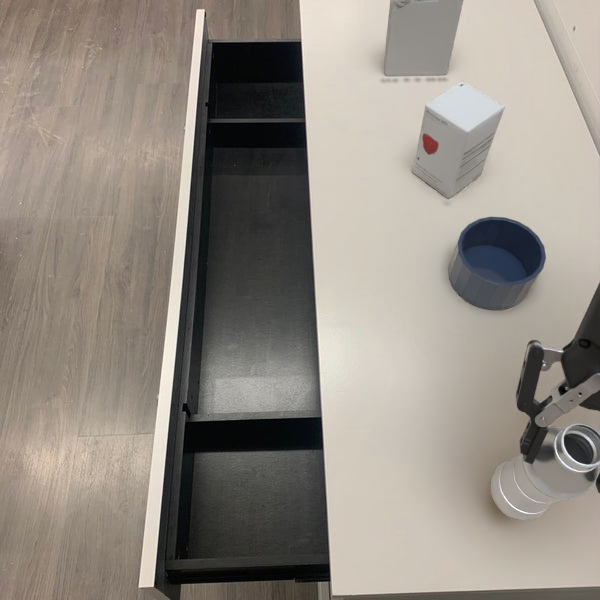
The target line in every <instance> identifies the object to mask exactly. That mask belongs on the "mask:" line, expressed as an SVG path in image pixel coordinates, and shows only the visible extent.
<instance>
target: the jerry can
mask: <svg viewBox="0 0 600 600" xmlns="http://www.w3.org/2000/svg"><path fill="white" fill-rule="evenodd" d="M463 4H464V0H389V9H388V18H387V28H386V38H385V39H386V40H385V47H384V57H383V64H384V74H385V76H387V77H406V76H407V77H414V76H415V77H418V76H421V77H423V76H446V75H447V74H448V72H449V68H450V63H451V59H452V55H453V50H454V45H455V40H456V36H457V32H458V27H459V22H460V18H461V13H462V9H463Z"/></svg>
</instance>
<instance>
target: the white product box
mask: <svg viewBox="0 0 600 600" xmlns="http://www.w3.org/2000/svg"><path fill="white" fill-rule="evenodd" d="M505 109H506V107H505V106H504V105H503V104H501V103H500V102H498V101H496V100H495V99H493V98H491V97H490V96H488V95H487V94H486V93H485V92H484V91H481V90H478V89H476V88H475V87H474V86H472V85H470V84H468V83H466V82H465V81H463V80H460V81H459V82H457V83H456V84H454V85H453V86H452V87H450V88H448V89H447V90H445V91H444V92H443V93H441V94H439V95H438V96H436V97H434V98H432V100H430V101H428V102H427V103H426V104H425V106H424V110H423V117H422V121H421V122H422V123H421V126H420V131H419V136H418V142H417V148H416V152H415V156H414V161H413V162H414V163H413V167H412V174H414V175H416V177H418V178H419V179H421V180H422V181H424V182H425V183H426V184H427V185H429V186H430V187H432V189H434V190H436V191H437V192H438V193H440V194H441V195H442V196H444V197H445V198H446V199H451V198H453V197H454V196H455V195H457V194H458V193H459V192H460V191H462V190H463V189H464V188H466V187H467V186H468V185H469V184H471V183H472V182H473V181H474V180H476V179H477V178H478V177H480V176H481V175H482V173H483V170H484V166H485V164H486V161H487V158H488V156H489V152H490V150H491V147H492V144H493V142H494V139H495V136H496V133H497V131H498V128H499V125H500V121H501V119H502V116H503V113H504V111H505Z"/></svg>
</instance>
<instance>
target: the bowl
mask: <svg viewBox="0 0 600 600" xmlns="http://www.w3.org/2000/svg"><path fill="white" fill-rule="evenodd" d="M546 260H547V255H546V249H545V245H544V243H543V242H542V240H541V238H540V236H539V235H538V234H537V233H536V232H535V231H533V230H532V229H531V227H529V226H527V225H525V224H524V223H522V222H521V221H518V220H515V219H511V218H509V217H503V216H487V217H481V218H478V219H476V220H475V221H473V222H470V223H468V224H467V225H466V226H465V227H464V229H463V230H462V231H461V232H460V235H459V237H458V240H457V243H456V245H455V249H454V251H453V254H452V257H451V260H450V262H449V267H448V278H449V282H450V284H451V286H452V288H453V290H454V292H456V294H457V295H458V296H459V297H460V298H461V299H463V300H464V301H465V302H467V303H469V305H472V306H474V307H477V308H480V309H483V310H489V311H502V310H507V309H509V308H510V309H511V308H513V307H515V306H517V305H519V304H520V303H521V302H522V301H523V300H525V298H526V297H527V295H528V294H529V292H530V291H531V289H532V287H533V286H534V285H535V283H536V281H537V279H538V278H539V276H540V275H541V273H542V271H543V270H544V267H545V264H546Z"/></svg>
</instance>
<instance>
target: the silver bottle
mask: <svg viewBox="0 0 600 600" xmlns="http://www.w3.org/2000/svg"><path fill="white" fill-rule="evenodd" d="M547 427H548V433H547V435H546V437H545V439H544V441H543V443H542V446H541V448H540V450H539V452H538V454H537V456H536V458H535V460H534V463H533V464H532V465H531V464H529V463H527V462H524V461H523V454H521V453H520V454H519V455H518V456H516V457H512V458H509V459H507V460H504V461H503V462H501V463H500V464H499V465H498V466H497V467H496V468H495V470H494V472H493V473H492V477H491V481H490V494H491V498H492V500H493V502H494V504H495V505H496V507H497V508H498V509H499V510H500V511H501V512H502V513H503V514H504V515H506V516H507V517H509V518H511V519H514V520H518V521H532V520H537V519H538V518H541V517H542V516H543V515H544V514H546V512H548V510H549V509H550V507H551V506H552V504H554V503H556V502H558V501H566V500H572V499H575V498H579V497H581V496H583V495H585V494H586V493H588V492H589V491H590V490H591V489H592V488H593V486H594V485H595V483H596V479H597V477H598V475H599V465H600V431H599V430H597V429H596V428H595V427H593V426H591V425H590V424H586V423H583V422H582V423H581V422H580V423H578V422H577V423H572V424H571V425H568V426H567V427H564V426H547Z"/></svg>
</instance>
